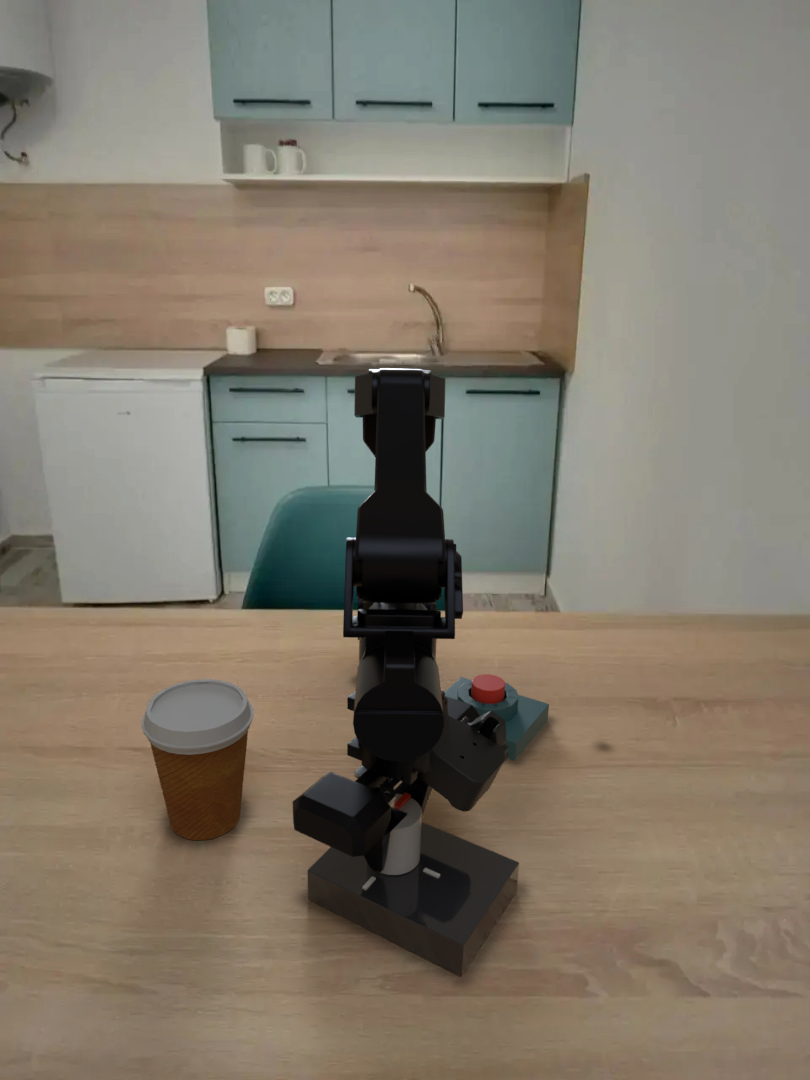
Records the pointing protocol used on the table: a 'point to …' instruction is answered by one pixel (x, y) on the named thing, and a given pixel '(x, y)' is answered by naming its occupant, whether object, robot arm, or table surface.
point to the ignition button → (488, 689)
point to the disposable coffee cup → (200, 753)
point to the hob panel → (422, 896)
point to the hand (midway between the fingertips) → (392, 851)
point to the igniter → (508, 714)
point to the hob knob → (404, 838)
